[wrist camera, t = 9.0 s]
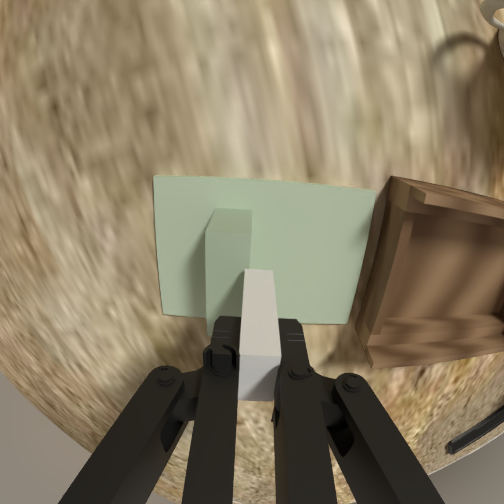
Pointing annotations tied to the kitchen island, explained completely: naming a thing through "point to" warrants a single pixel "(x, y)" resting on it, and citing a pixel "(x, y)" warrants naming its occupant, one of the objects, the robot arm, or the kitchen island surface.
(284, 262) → the cover plate
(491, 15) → the mug
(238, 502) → the kitchen island surface
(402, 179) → the lid box
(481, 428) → the phone
